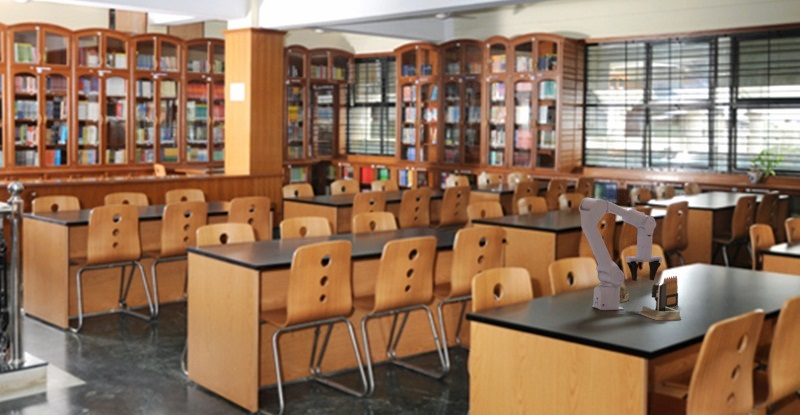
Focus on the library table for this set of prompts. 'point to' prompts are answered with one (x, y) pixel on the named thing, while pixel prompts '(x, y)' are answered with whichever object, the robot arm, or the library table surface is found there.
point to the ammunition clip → (671, 291)
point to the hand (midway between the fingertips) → (643, 280)
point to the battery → (659, 295)
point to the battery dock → (661, 313)
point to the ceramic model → (623, 294)
